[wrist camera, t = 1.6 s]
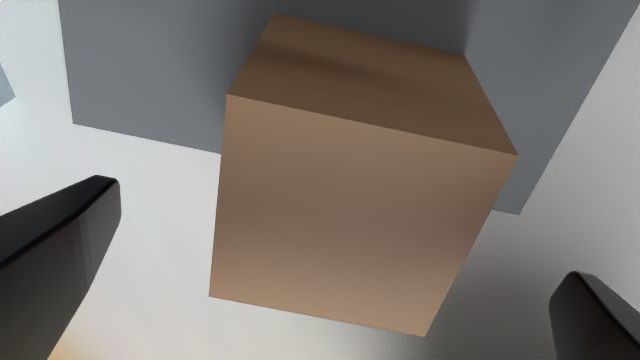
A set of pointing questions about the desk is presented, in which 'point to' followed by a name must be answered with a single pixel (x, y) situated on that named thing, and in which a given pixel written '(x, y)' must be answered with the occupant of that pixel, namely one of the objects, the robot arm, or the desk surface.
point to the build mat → (344, 12)
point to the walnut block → (353, 176)
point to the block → (5, 89)
